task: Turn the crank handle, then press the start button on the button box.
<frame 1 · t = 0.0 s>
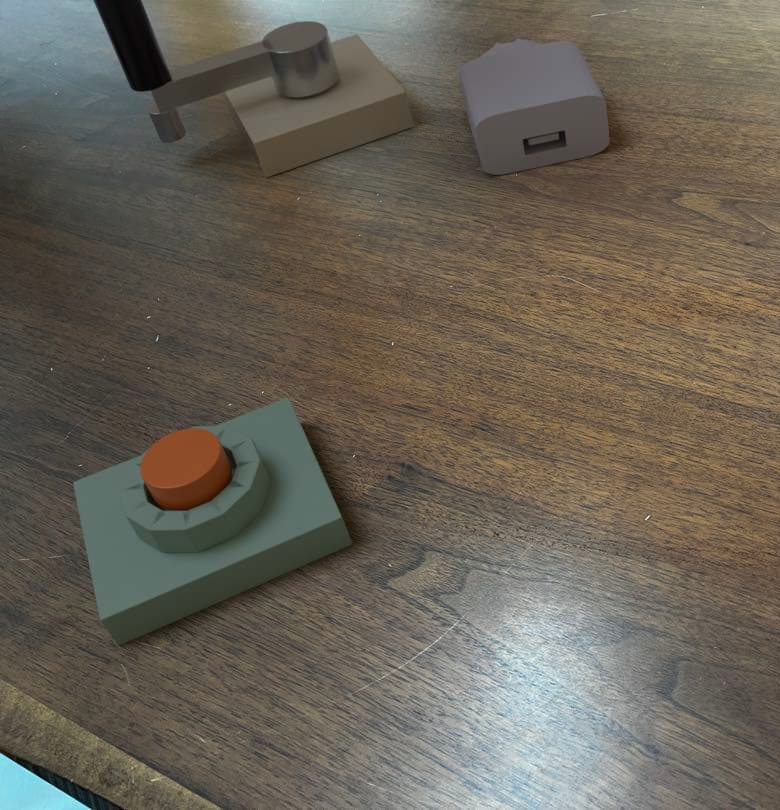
tap base: (318, 119, 87), on the table
start button: (186, 469, 54), point 4 cm above the table, slide at 0.1 cm
charger: (529, 117, 83), on the table
button box: (216, 526, 57), on the table
crank handle: (222, 34, 79), point 9 cm above the table, hinge at 0.0°
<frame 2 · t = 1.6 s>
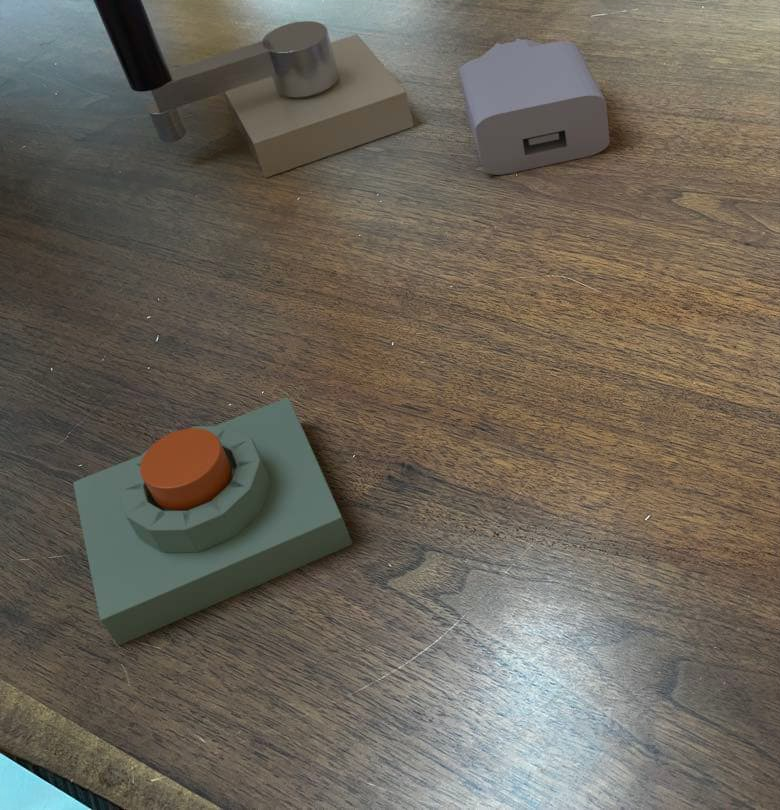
nothing on the table moved.
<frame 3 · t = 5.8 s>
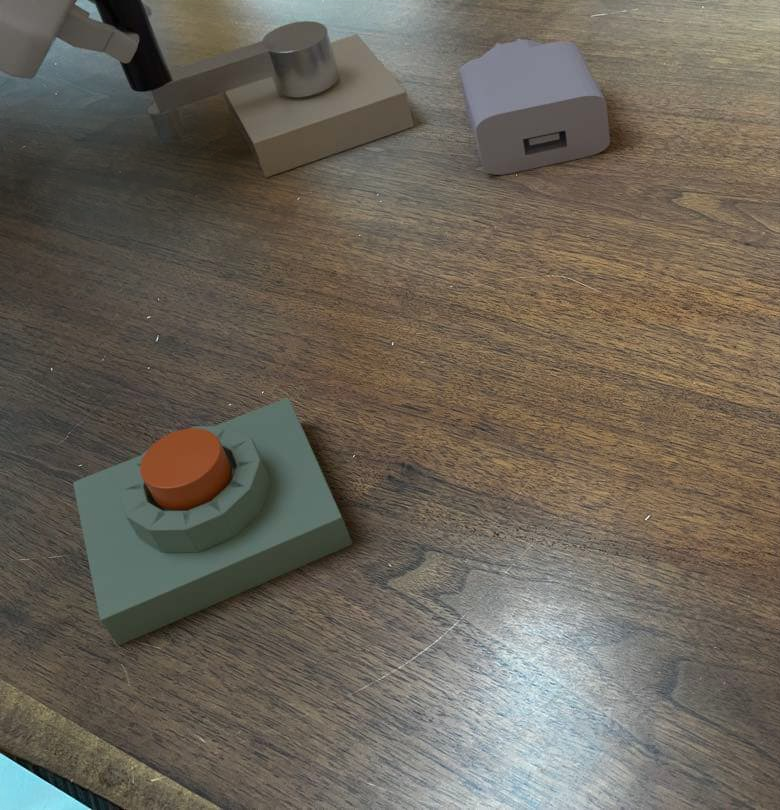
hand: (141, 37, 77), 10 cm above the table, tool tilted 45°, fingers closed on crank handle, 3 cm apart
crank handle: (222, 34, 79), point 9 cm above the table, hinge at 0.1°, touching gripper
everything else where it was.
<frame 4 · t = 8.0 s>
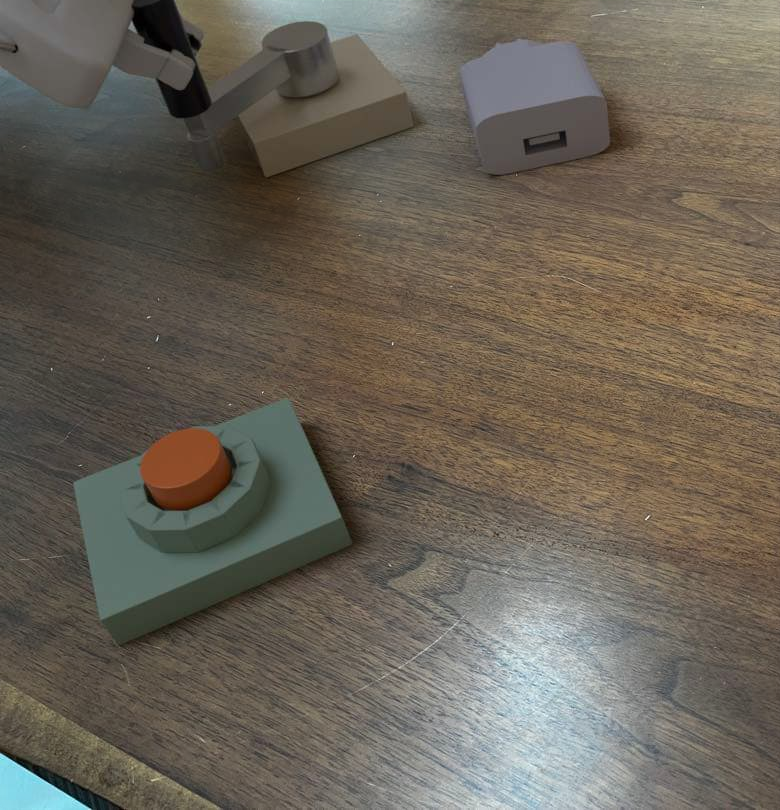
hand: (195, 62, 73), 10 cm above the table, tool tilted 45°, fingers closed on crank handle, 3 cm apart
crank handle: (241, 44, 78), point 9 cm above the table, hinge at 32.9°, touching gripper
everything else where it was.
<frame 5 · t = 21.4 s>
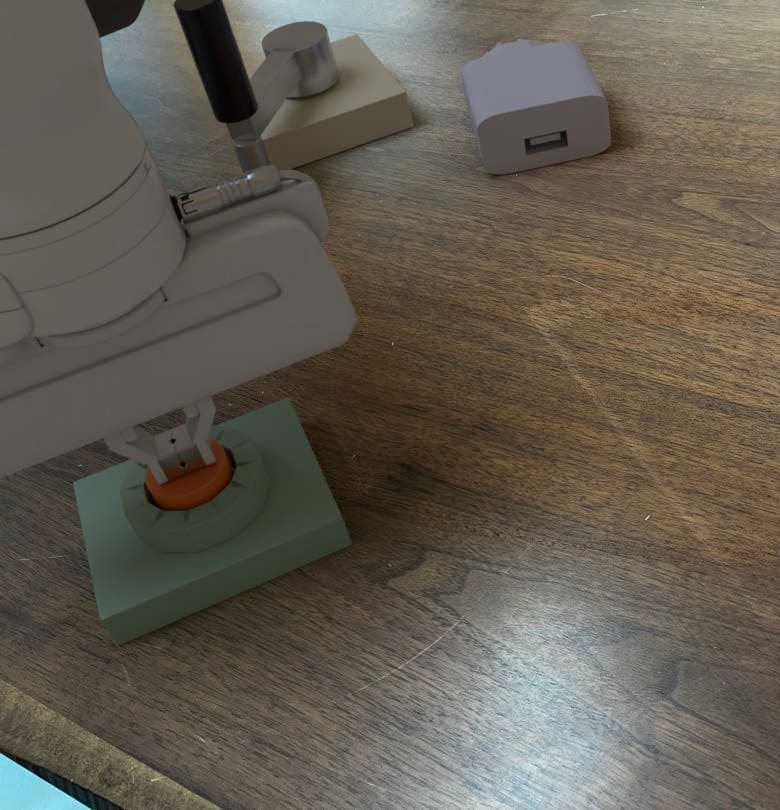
hand: (186, 465, 53), 5 cm above the table, tool pointing down, fingers closed, pressing on start button
start button: (191, 477, 54), point 4 cm above the table, slide at -0.6 cm, touching gripper
crank handle: (262, 46, 77), point 9 cm above the table, hinge at 53.3°
everything else where it was.
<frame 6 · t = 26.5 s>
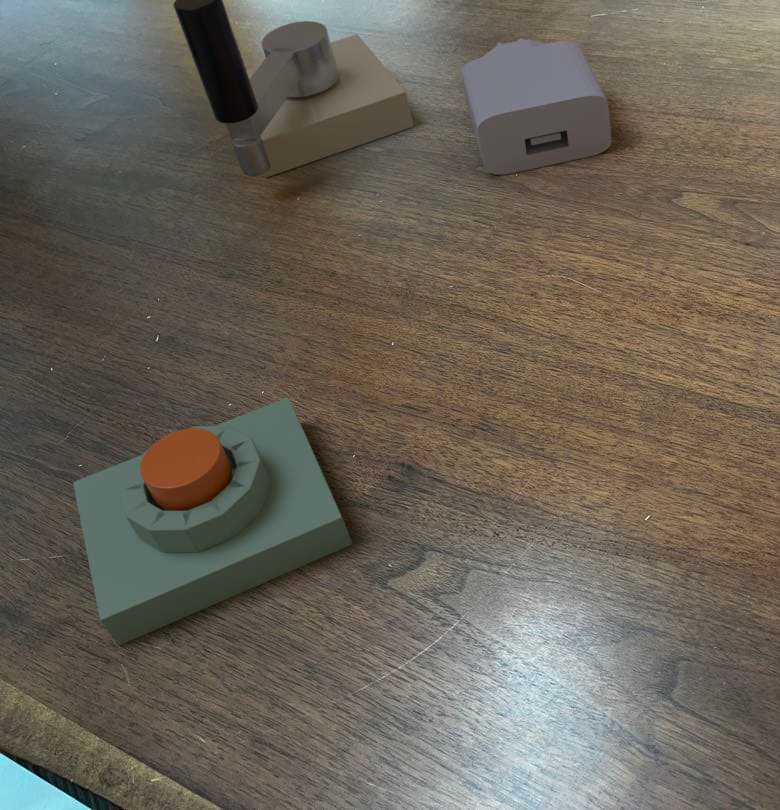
start button: (186, 469, 54), point 4 cm above the table, slide at 0.1 cm
everything else where it was.
at the end: crank handle at +53° (first picture: +0°); start button pushed in 1.0 cm at the most during the clip, back to where it started at the end; start button slide at 0.1 cm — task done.
